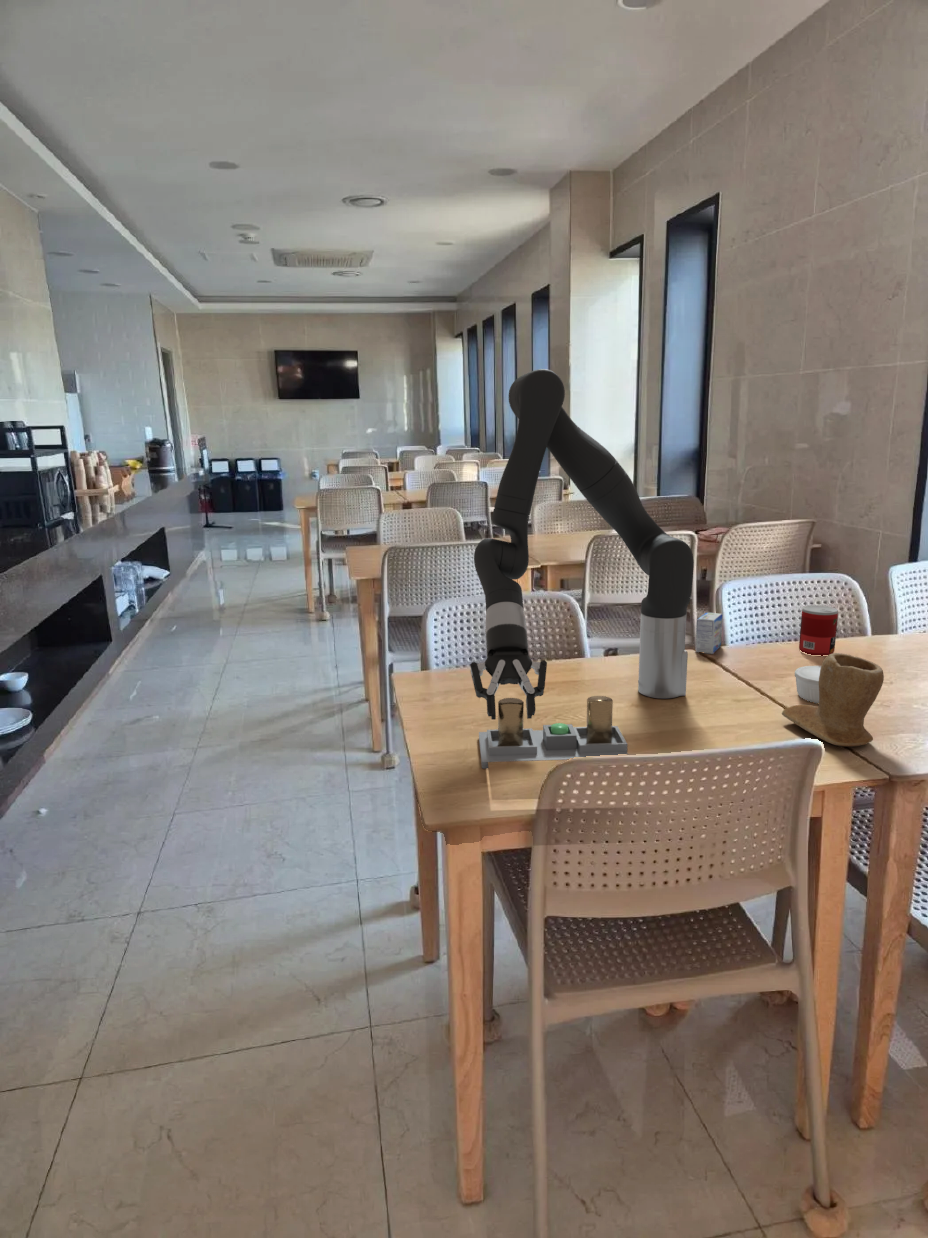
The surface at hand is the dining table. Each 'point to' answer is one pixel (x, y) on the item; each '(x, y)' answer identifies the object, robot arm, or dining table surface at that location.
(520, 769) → the dining table surface
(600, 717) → the seated billet
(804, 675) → the ramekin
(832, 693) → the tan hollow curved piece
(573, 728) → the grey socket tray
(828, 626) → the canned food
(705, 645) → the medicine box
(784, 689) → the dining table surface
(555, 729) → the button
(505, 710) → the cylinder
